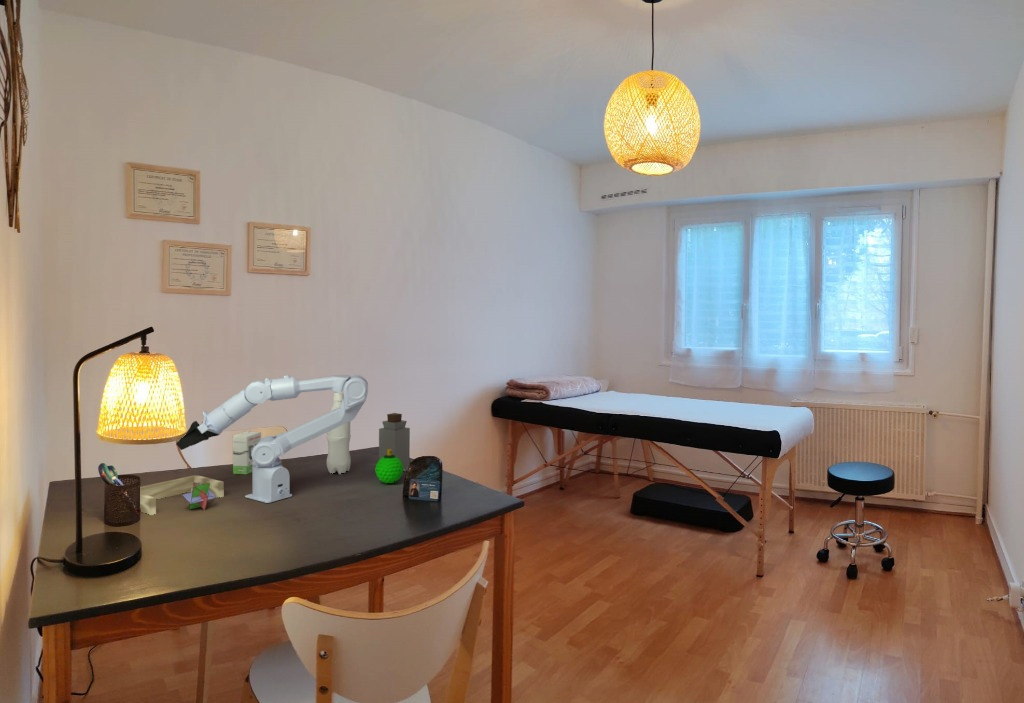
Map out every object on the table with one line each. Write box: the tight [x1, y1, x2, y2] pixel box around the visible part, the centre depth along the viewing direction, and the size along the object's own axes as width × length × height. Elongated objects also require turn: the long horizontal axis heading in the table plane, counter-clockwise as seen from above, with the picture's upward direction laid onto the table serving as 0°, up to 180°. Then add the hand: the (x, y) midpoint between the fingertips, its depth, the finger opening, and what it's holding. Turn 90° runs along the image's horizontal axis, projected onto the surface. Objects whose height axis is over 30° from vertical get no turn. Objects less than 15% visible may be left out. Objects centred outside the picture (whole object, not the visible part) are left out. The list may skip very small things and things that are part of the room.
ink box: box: [232, 430, 262, 475], centre depth 195 cm, size 9×5×12 cm, turn 173°
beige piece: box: [139, 474, 225, 516], centre depth 163 cm, size 13×19×4 cm, turn 148°
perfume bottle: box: [378, 412, 411, 470], centre depth 199 cm, size 7×7×18 cm
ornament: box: [374, 449, 404, 484], centre depth 184 cm, size 8×8×10 cm
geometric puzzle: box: [181, 482, 218, 511], centre depth 157 cm, size 7×7×8 cm
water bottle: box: [326, 391, 351, 475], centre depth 195 cm, size 7×7×25 cm
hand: (184, 444), depth 163 cm, fingers open, 7 cm apart
